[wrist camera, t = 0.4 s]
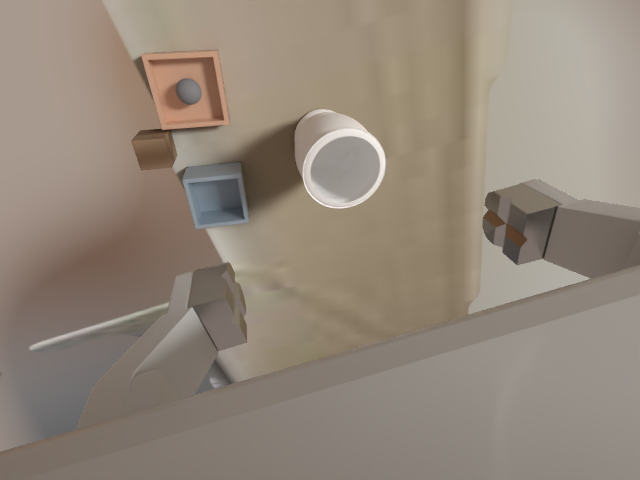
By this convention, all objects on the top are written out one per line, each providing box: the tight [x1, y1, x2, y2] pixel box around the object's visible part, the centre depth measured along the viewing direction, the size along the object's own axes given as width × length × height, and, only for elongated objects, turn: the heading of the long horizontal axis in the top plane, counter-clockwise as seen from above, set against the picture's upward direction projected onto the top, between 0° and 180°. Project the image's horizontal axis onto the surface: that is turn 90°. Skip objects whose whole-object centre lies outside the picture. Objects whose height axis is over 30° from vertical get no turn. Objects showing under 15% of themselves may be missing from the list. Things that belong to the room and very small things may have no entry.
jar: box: [294, 109, 386, 208], centre depth 47 cm, size 11×10×15 cm
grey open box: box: [182, 162, 249, 229], centre depth 53 cm, size 8×8×5 cm
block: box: [132, 129, 177, 170], centre depth 47 cm, size 4×4×5 cm
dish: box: [141, 50, 230, 130], centre depth 45 cm, size 9×9×2 cm
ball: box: [176, 78, 202, 105], centre depth 44 cm, size 3×3×3 cm
